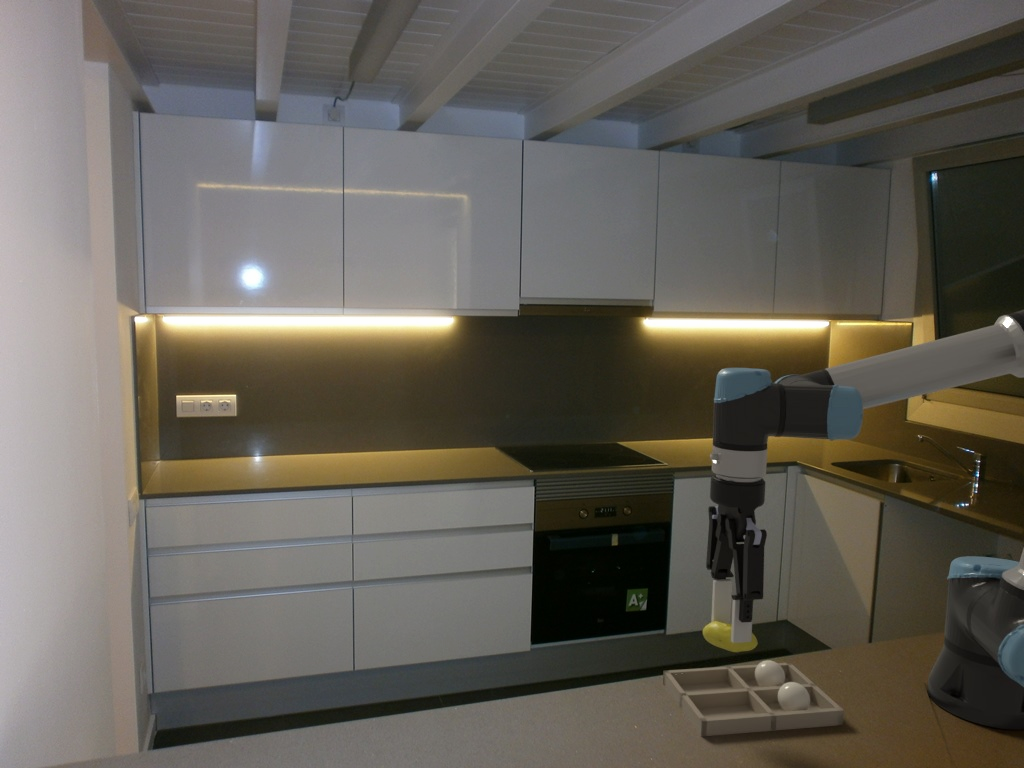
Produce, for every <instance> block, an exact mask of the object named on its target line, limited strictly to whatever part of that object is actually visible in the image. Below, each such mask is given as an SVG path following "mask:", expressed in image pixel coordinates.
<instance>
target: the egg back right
mask: <svg viewBox="0 0 1024 768" xmlns="http://www.w3.org/2000/svg"><path fill="white" fill-rule="evenodd" d="M778 663H779V662H778ZM778 663H777V662H776V661H775V660H774V661H773V660H770V659H767V660H763V661H760V662H759V663H758V664H756V665H757V667H756V669H755V679H756V681H757V683H758V684H759V686H760V687H773V686H782V685H783V684H784V682H785V673H784V670H783V669H782V667H781V666H780V665H779V664H778Z"/></svg>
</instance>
